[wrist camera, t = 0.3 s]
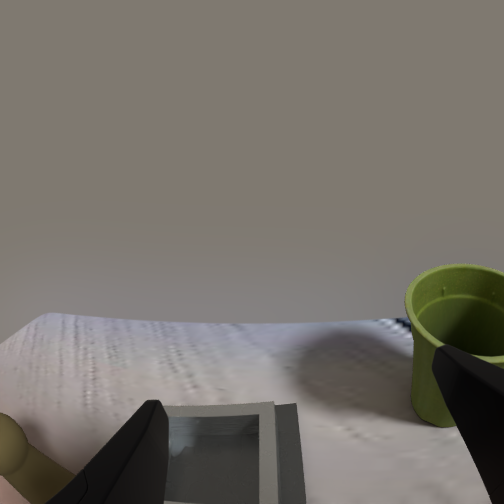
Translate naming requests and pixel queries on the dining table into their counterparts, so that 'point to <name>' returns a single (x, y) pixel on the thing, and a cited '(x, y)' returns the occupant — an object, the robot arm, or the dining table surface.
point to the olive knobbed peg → (28, 465)
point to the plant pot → (452, 326)
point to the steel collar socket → (234, 455)
